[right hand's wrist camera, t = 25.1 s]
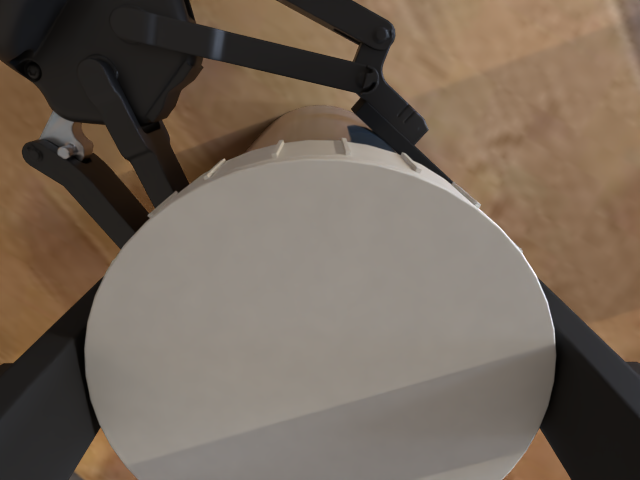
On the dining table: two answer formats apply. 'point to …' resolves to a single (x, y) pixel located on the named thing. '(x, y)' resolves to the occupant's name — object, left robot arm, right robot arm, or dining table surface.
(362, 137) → the jar
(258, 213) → the lid
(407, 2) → the dining table surface
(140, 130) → the left robot arm
